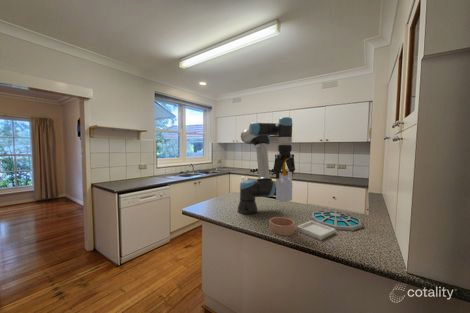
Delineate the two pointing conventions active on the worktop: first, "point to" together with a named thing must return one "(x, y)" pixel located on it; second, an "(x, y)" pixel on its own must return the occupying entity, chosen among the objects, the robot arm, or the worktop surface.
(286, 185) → the soap bottle
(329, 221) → the decorative platform
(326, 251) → the worktop surface
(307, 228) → the tray
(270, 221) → the holder ring
